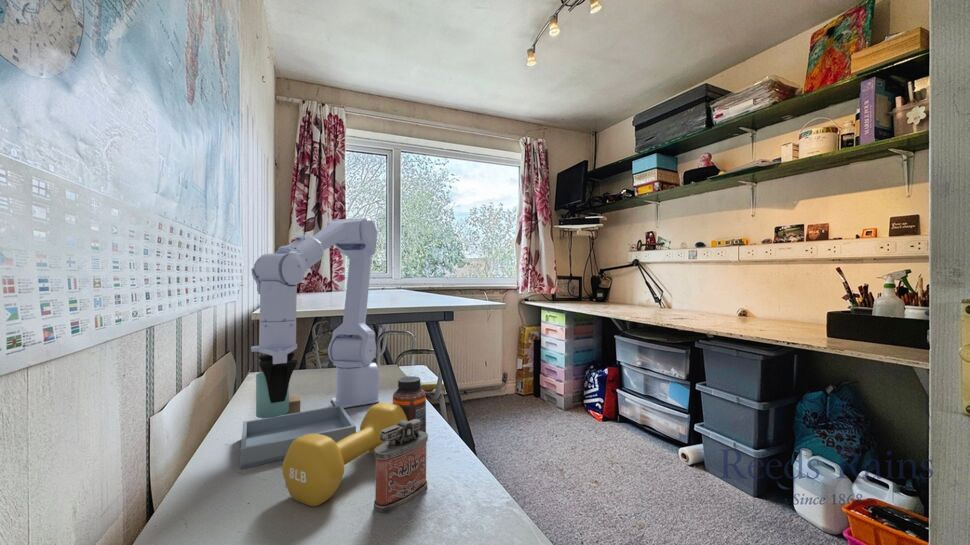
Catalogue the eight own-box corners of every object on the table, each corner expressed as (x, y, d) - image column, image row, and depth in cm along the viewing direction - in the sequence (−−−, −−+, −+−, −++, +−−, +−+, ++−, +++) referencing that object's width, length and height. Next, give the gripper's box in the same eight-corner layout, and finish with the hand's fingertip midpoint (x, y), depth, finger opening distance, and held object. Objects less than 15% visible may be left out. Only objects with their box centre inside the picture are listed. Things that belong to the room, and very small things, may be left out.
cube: (297, 417, 78) (297, 394, 78) (300, 425, 74) (300, 400, 74) (270, 422, 76) (270, 397, 76) (271, 430, 71) (271, 404, 71)
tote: (341, 419, 77) (341, 405, 77) (355, 443, 66) (355, 426, 66) (242, 438, 68) (243, 421, 68) (240, 469, 57) (240, 449, 57)
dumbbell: (374, 443, 66) (374, 397, 66) (415, 453, 62) (415, 404, 62) (274, 499, 49) (275, 437, 49) (321, 518, 45) (322, 451, 45)
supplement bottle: (429, 435, 69) (430, 374, 69) (421, 449, 63) (421, 383, 63) (398, 434, 70) (399, 374, 70) (387, 448, 64) (387, 382, 64)
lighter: (416, 480, 53) (417, 411, 54) (432, 489, 51) (433, 417, 51) (368, 507, 47) (368, 428, 47) (383, 518, 45) (384, 435, 45)
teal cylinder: (259, 409, 66) (259, 370, 66) (290, 406, 68) (290, 368, 68) (252, 419, 61) (252, 378, 62) (286, 415, 63) (286, 375, 63)
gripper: (252, 318, 69) (250, 390, 69) (251, 325, 57) (249, 414, 57) (293, 316, 73) (292, 384, 73) (301, 323, 61) (300, 405, 60)
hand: (277, 397), depth 65 cm, fingers closed on teal cylinder, 5 cm apart
